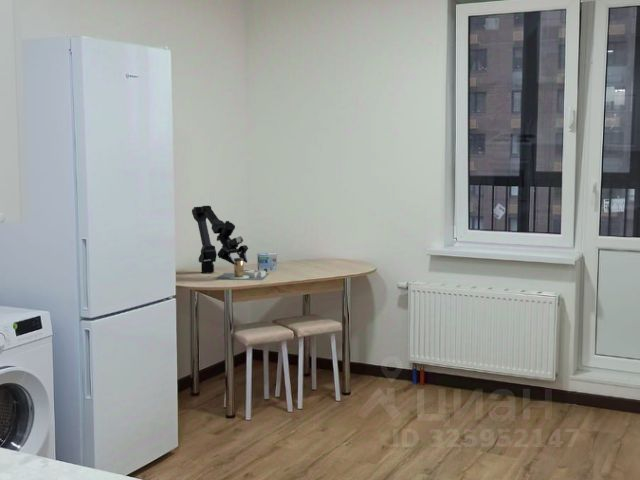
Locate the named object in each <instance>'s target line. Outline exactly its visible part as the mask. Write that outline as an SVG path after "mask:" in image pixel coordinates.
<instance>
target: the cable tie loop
mask: <svg viewBox="0 0 640 480" xmlns="http://www.w3.org/2000/svg"><path fill="white" fill-rule="evenodd" d="M266 273H267V272H266V271H261V270H258V269H252V270H244V275H246V276H249V277H264V276H266Z"/></svg>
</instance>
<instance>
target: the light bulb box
mask: <svg viewBox="0 0 640 480" xmlns="http://www.w3.org/2000/svg"><path fill="white" fill-rule="evenodd" d="M257 270H261V271H266V273H269V272H278V253H276V252H258V253H257Z"/></svg>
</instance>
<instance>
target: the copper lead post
mask: <svg viewBox="0 0 640 480" xmlns="http://www.w3.org/2000/svg"><path fill="white" fill-rule="evenodd" d="M233 260H234V262H235V264H234V265H233V266H234V267H233V268H234V269H233V270H234V271H233V273H234V277H244V271H245V269H244V261H243V258H240V257H235V258H233Z"/></svg>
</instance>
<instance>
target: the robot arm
mask: <svg viewBox="0 0 640 480" xmlns="http://www.w3.org/2000/svg"><path fill="white" fill-rule="evenodd" d="M191 215H192V216H193V219H194V220H195V221H196V222H197V226H198V231H199V235H200V240H201V241H200V242H201V245H202V246H201V250H200V255H199V257H198V263H201V265H200V266H201V271H200V274H213V273H214V272H215V264H214V262H215V263H216V262H217V261H216V260H217V257H218V259H222V260H224V261H226V262H228V263H230V264H231V265H233V266H234V264H235V262H234V258H233V257H232V255H231V254H237V255H238V258H243V263H245V264H246V263H248V258H247V251H248V249H249V247H248V246H247V245H246V244H244V245H243V244H242V243H243V242H244V239H243V237H242V236H238V237H234V238H231V237H230V236H232V235H233V233H234V231H235V229H236V226H235V224H234V223H232V222H230V221H229V220H225V222H224V221H223V220H221V219H219V218H218V216H217V215H216V214H215V212H214V210H213V209H212V206H211V205H201V206H194V207H193V208H192V209H191ZM207 220H208V221H209V223H210V224H211V231H212V232H213V234H218V235H217V236H216V242H220V243H221V248H220V250H219V251H218V252H217V250H216V246H215V245H212V243H211V238H210V233H209V229H208V225H207ZM240 244H242V245H240ZM239 245H240V246H239Z"/></svg>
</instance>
